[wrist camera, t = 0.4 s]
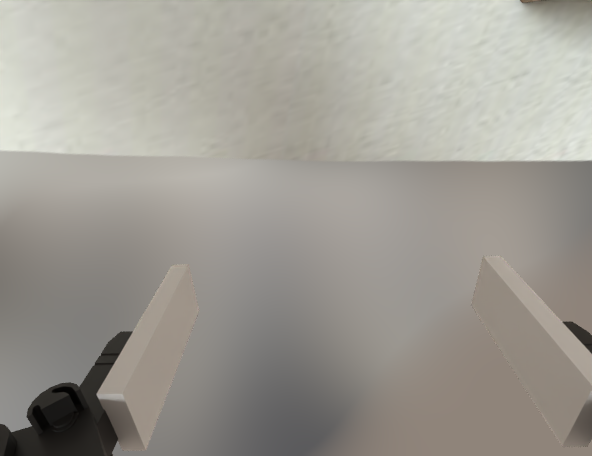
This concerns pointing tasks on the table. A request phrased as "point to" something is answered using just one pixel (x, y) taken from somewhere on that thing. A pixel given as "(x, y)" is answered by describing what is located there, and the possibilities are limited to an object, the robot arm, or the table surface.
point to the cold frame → (527, 1)
